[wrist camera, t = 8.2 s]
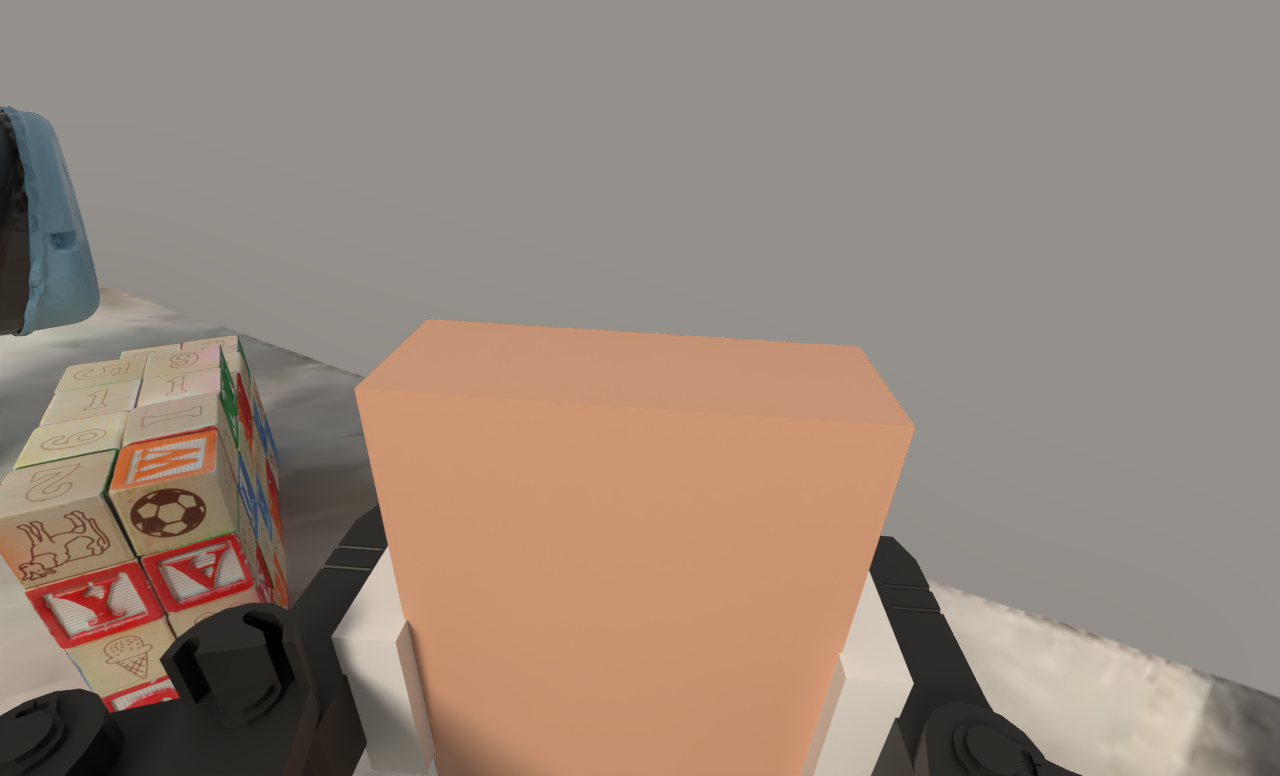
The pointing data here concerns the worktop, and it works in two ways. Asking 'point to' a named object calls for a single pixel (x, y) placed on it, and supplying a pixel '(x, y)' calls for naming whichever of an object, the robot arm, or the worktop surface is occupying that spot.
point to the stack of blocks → (145, 510)
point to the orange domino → (627, 540)
